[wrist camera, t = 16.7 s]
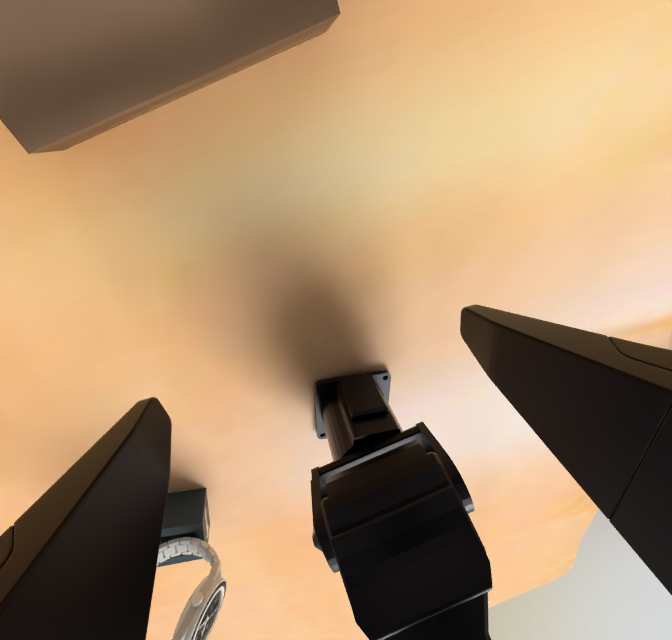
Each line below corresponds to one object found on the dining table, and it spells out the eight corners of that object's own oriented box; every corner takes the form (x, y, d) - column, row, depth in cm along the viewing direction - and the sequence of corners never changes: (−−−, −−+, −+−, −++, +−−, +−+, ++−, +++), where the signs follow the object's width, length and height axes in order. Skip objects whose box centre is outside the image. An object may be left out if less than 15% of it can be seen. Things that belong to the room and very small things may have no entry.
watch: (230, 520, 33) (224, 671, 24) (141, 534, 31) (96, 706, 22) (228, 484, 30) (221, 639, 21) (131, 497, 28) (75, 676, 19)
